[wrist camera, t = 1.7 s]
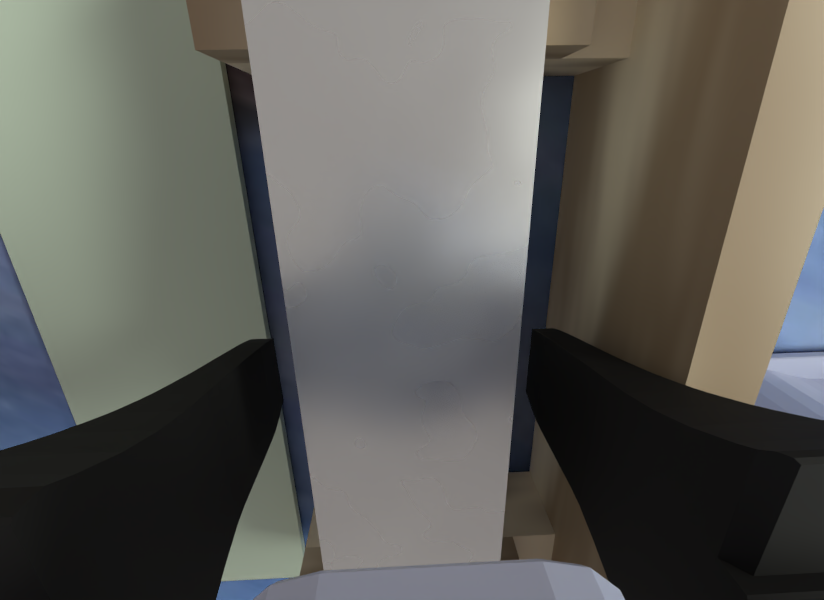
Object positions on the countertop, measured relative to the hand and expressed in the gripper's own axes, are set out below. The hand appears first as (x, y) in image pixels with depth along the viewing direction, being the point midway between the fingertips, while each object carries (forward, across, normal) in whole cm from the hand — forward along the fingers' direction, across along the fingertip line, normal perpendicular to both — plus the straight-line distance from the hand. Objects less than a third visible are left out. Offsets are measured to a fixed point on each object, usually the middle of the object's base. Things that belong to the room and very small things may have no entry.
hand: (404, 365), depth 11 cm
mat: (+3, +8, 0) cm, 9 cm away
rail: (0, 0, 0) cm, 0 cm away
